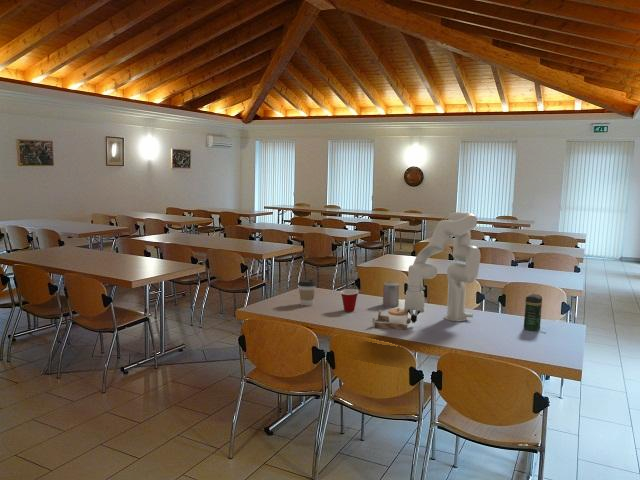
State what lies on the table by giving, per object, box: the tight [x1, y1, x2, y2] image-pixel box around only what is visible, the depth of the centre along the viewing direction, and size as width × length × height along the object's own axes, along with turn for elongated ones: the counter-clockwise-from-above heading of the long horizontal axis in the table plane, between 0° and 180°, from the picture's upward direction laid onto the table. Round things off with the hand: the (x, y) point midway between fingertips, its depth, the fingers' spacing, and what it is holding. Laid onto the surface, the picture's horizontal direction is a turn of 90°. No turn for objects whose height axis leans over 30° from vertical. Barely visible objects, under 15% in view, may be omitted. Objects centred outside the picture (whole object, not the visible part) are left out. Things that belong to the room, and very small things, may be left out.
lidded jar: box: [387, 307, 409, 325], centre depth 298 cm, size 11×11×9 cm
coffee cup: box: [297, 278, 317, 306], centre depth 341 cm, size 11×11×15 cm
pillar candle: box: [382, 281, 400, 308], centre depth 342 cm, size 10×10×15 cm
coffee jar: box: [523, 293, 543, 332], centre depth 294 cm, size 10×8×19 cm
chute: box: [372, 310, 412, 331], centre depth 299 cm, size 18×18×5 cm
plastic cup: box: [339, 288, 359, 313], centre depth 327 cm, size 11×11×12 cm
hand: (413, 322), depth 296 cm, fingers closed
